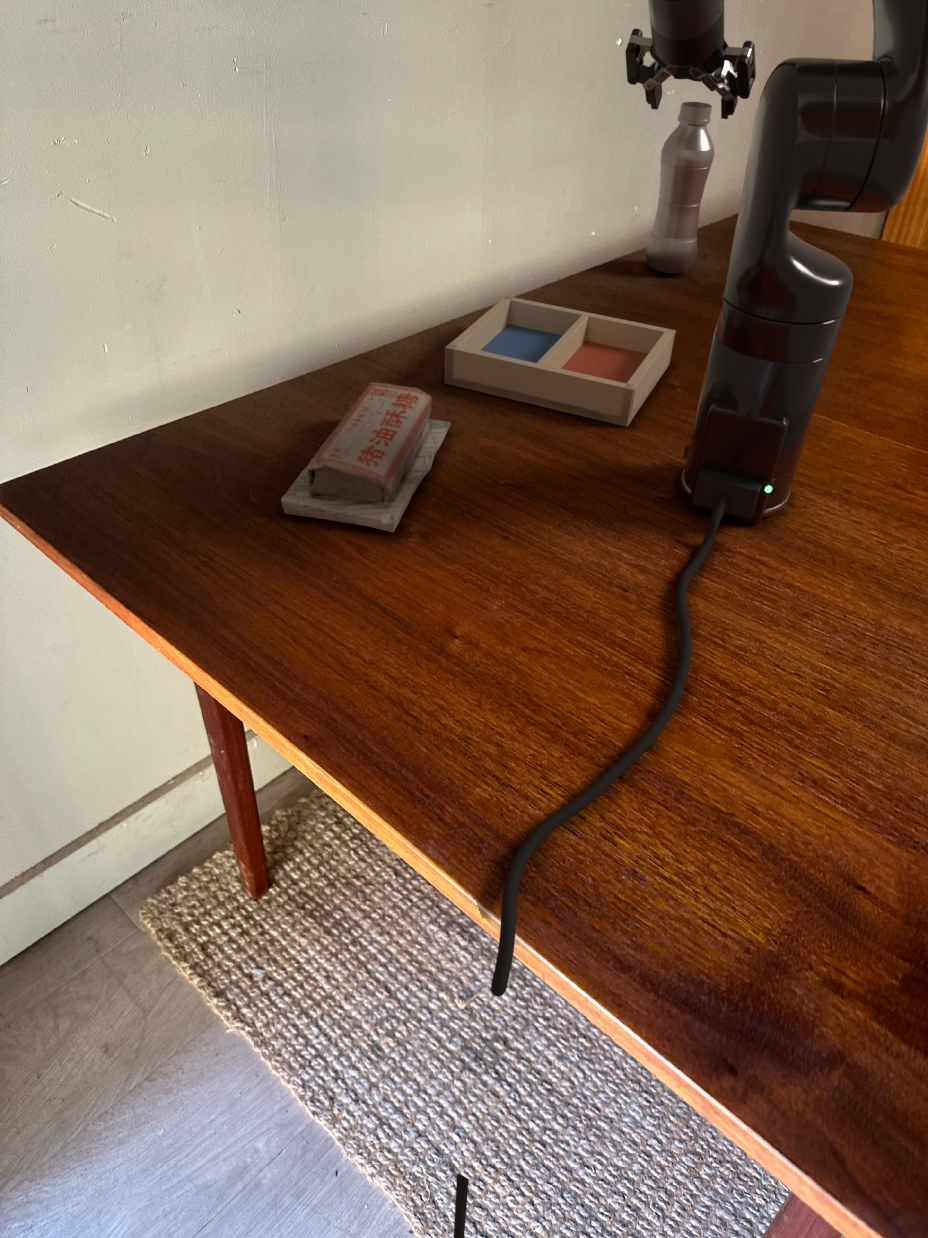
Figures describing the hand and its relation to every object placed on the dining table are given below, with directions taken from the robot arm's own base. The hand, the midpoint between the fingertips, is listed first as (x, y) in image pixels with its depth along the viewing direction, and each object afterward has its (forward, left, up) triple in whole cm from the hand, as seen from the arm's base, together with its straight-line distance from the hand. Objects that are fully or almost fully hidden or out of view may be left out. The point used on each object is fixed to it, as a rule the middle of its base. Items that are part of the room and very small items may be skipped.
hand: (691, 107), depth 109 cm
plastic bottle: (+2, 0, -20) cm, 20 cm away
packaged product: (-62, +10, -20) cm, 66 cm away
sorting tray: (-35, +2, -20) cm, 40 cm away
